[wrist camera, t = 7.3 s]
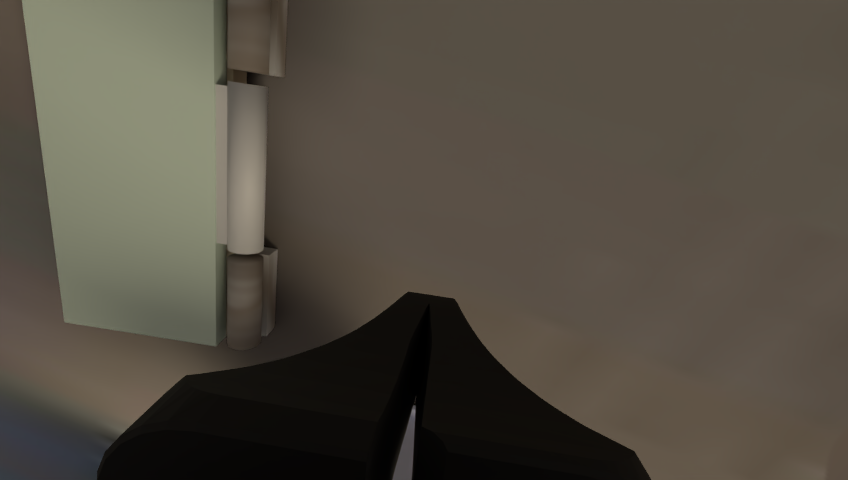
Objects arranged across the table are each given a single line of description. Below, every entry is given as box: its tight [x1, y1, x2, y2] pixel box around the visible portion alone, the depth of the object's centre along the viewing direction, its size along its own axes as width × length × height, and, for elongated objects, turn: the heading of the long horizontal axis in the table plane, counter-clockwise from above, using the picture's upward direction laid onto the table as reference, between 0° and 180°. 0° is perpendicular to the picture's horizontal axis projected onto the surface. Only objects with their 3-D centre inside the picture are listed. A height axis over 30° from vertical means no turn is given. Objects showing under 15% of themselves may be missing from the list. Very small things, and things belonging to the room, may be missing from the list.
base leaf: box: [22, 0, 288, 350], centre depth 19 cm, size 18×11×3 cm, turn 172°
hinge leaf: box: [22, 0, 269, 346], centre depth 19 cm, size 18×10×2 cm, turn 172°
